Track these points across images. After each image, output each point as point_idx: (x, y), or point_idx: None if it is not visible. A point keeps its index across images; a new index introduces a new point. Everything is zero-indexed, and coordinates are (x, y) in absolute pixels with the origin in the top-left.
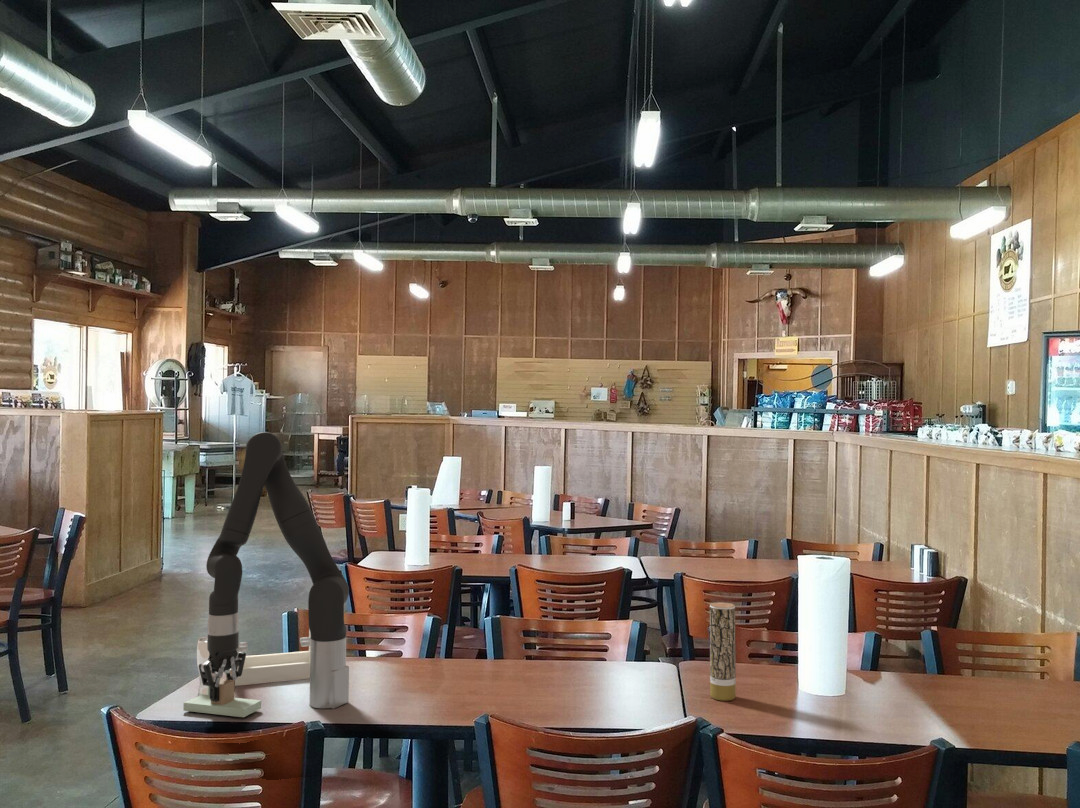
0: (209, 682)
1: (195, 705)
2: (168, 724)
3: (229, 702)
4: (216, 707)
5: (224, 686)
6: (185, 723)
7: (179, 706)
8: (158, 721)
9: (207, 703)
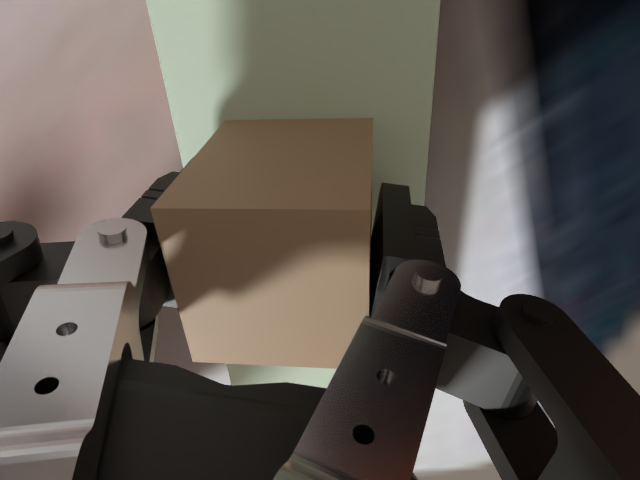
0: (590, 348)
1: None
2: (615, 314)
3: (301, 112)
4: (426, 152)
5: (365, 197)
6: (588, 237)
7: None
8: None
9: None
